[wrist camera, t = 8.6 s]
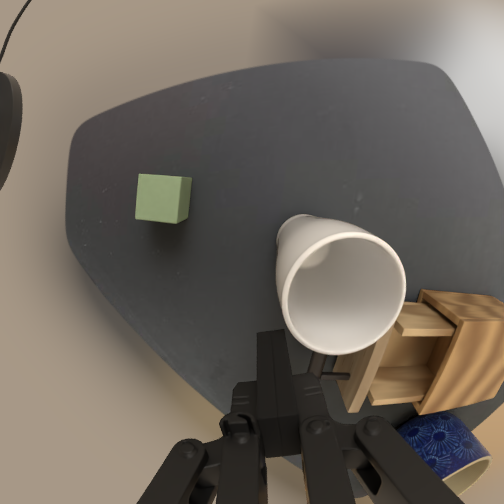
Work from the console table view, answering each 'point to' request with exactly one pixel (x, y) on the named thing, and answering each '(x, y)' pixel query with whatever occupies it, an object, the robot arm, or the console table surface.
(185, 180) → the block
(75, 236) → the console table surface
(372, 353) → the drawer
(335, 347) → the drinking glass
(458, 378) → the cabinet
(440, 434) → the planter
